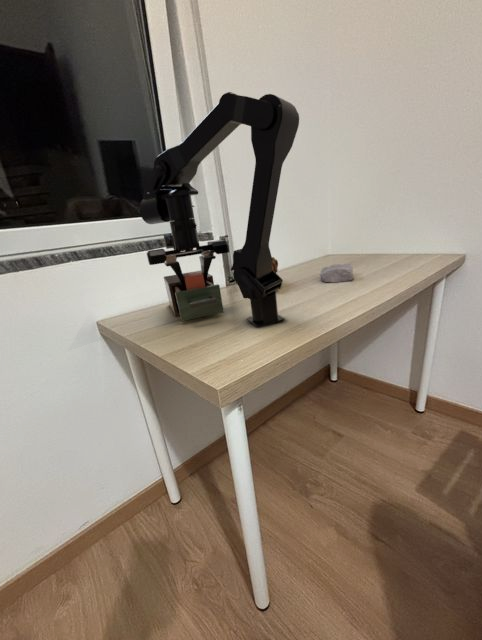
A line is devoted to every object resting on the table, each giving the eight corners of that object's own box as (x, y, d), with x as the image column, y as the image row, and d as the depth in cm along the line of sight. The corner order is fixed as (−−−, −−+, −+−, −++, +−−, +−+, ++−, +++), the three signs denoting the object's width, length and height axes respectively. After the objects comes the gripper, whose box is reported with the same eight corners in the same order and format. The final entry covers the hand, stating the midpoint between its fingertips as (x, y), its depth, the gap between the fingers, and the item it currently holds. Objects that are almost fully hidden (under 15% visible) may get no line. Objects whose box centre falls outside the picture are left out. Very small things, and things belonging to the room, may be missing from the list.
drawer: (228, 316, 71) (224, 287, 69) (184, 326, 69) (178, 296, 66) (212, 302, 86) (208, 277, 84) (175, 309, 84) (169, 284, 81)
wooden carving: (282, 292, 91) (280, 257, 87) (267, 293, 91) (264, 259, 87) (277, 281, 106) (275, 251, 102) (264, 283, 106) (261, 253, 102)
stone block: (322, 288, 96) (355, 279, 93) (319, 273, 94) (352, 264, 91) (322, 282, 106) (351, 273, 103) (318, 268, 105) (349, 259, 102)
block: (206, 292, 75) (203, 273, 73) (188, 295, 73) (184, 277, 72) (202, 289, 78) (199, 271, 77) (185, 292, 77) (182, 274, 76)
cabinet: (217, 307, 84) (212, 275, 80) (175, 316, 81) (168, 283, 77) (207, 298, 96) (202, 270, 92) (169, 305, 93) (163, 276, 89)
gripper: (213, 216, 79) (222, 277, 85) (139, 226, 74) (154, 289, 80) (225, 214, 69) (234, 283, 75) (140, 225, 64) (157, 297, 70)
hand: (195, 288), depth 76 cm, fingers closed on block, 4 cm apart
